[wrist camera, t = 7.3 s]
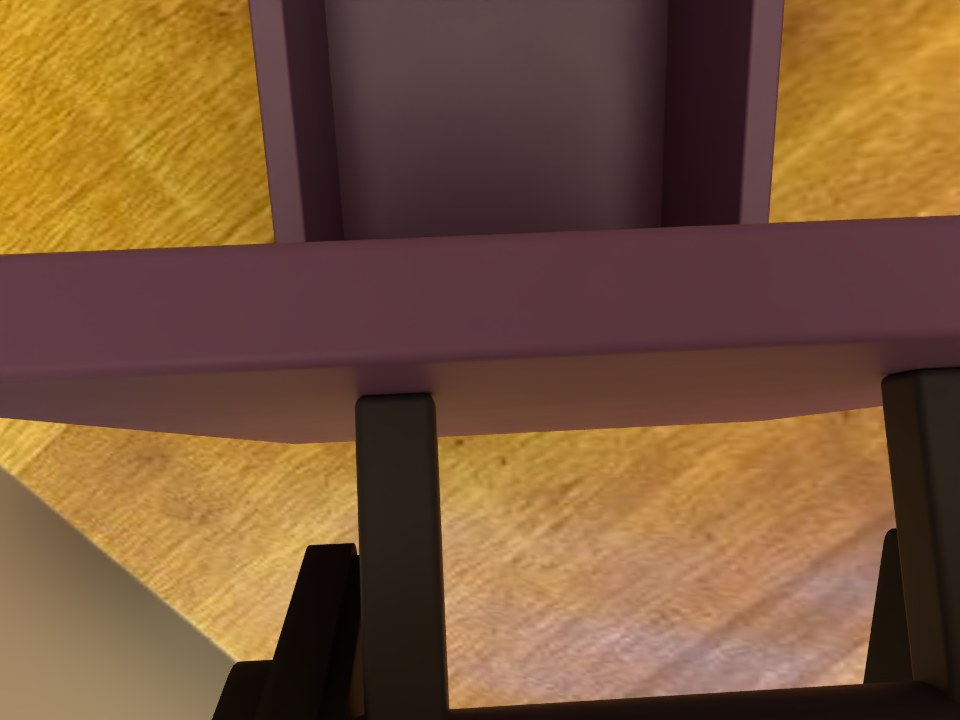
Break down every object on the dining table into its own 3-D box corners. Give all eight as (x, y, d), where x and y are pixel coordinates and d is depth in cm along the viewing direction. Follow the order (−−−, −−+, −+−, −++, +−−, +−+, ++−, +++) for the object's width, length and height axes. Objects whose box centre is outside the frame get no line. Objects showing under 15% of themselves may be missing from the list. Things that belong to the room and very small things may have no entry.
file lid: (-276, 261, 5) (-340, 1279, 4) (1711, 179, 5) (1938, 1091, 5) (290, 413, 21) (295, 625, 20) (762, 390, 21) (781, 597, 21)
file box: (289, -145, 25) (218, -266, 17) (691, -155, 25) (806, -278, 17) (334, 339, 29) (294, 422, 21) (673, 324, 30) (757, 400, 22)
